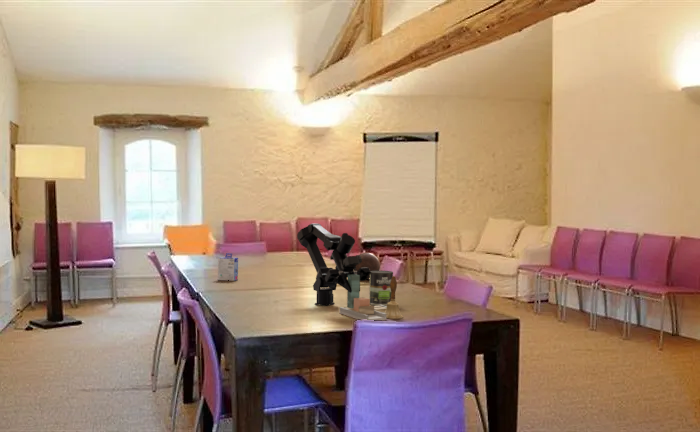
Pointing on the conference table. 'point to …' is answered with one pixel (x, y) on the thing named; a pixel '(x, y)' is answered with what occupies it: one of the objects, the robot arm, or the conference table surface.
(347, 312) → the lane board
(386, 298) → the coffee can
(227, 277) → the ink cartridge box
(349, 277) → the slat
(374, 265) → the wooden sphere
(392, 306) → the wooden handled brush
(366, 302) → the cube
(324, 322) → the conference table surface
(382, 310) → the broken slat
